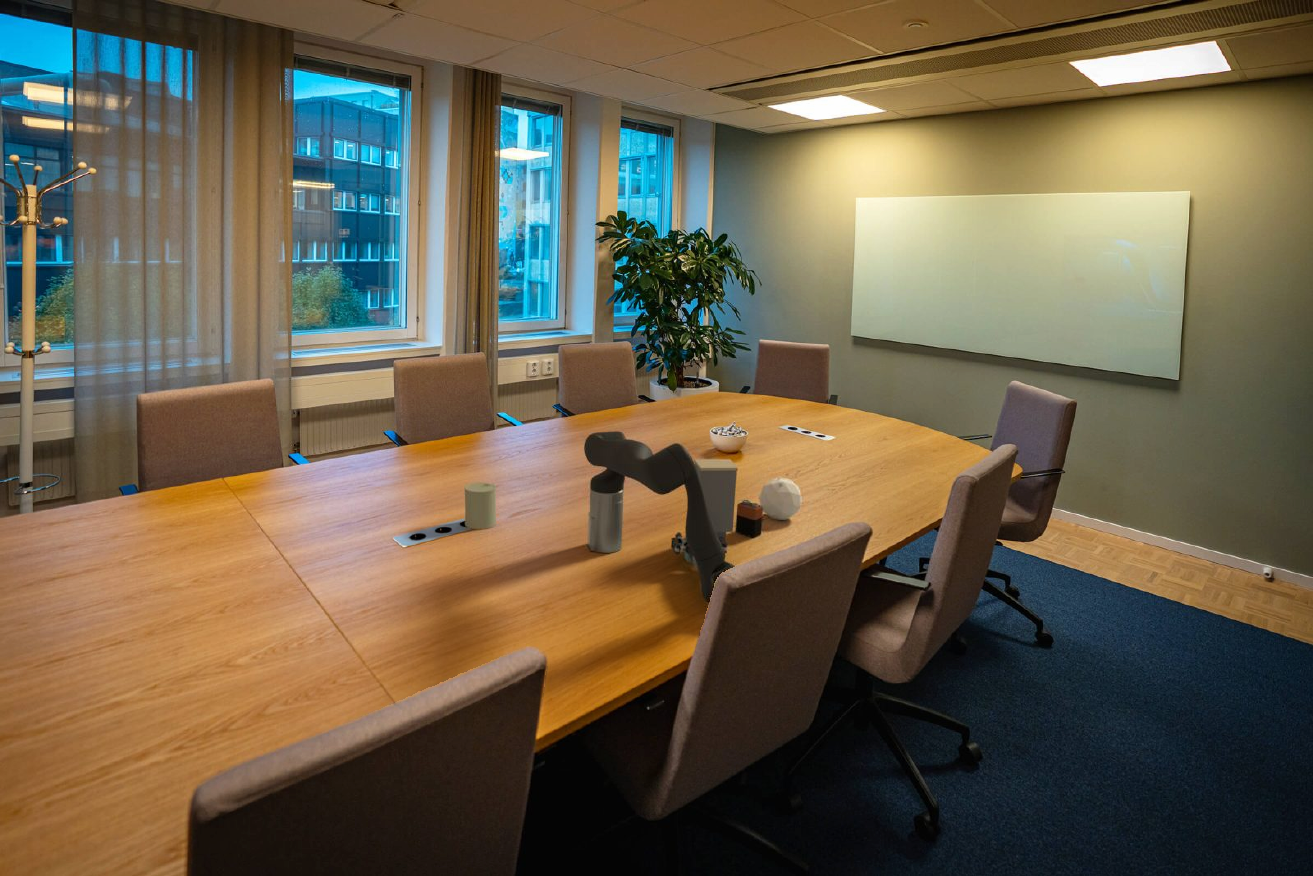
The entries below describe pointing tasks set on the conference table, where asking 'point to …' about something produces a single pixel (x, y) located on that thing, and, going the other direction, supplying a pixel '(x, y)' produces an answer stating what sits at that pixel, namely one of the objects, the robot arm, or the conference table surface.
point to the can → (480, 505)
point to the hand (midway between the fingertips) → (693, 535)
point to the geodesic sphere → (780, 498)
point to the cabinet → (719, 491)
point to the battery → (749, 518)
